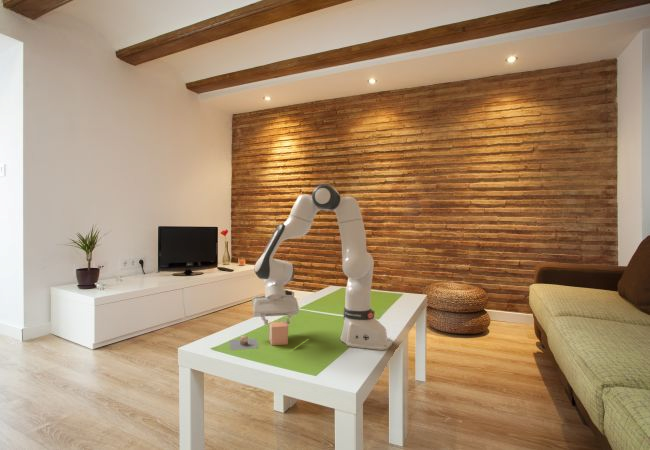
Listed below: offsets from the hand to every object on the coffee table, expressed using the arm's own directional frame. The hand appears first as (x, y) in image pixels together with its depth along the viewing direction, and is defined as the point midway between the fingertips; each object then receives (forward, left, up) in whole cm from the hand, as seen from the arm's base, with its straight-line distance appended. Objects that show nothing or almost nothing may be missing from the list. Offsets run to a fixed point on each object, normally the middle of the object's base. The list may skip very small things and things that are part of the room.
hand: (277, 323), depth 152 cm
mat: (+9, +12, -7) cm, 16 cm away
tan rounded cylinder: (+8, +12, -6) cm, 16 cm away
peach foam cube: (-3, +3, -7) cm, 8 cm away
